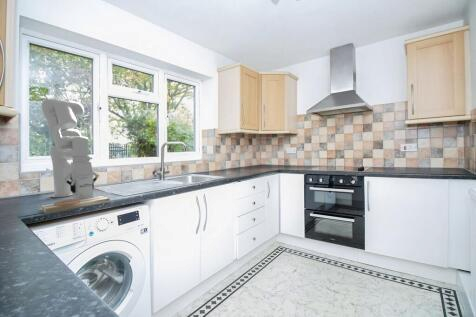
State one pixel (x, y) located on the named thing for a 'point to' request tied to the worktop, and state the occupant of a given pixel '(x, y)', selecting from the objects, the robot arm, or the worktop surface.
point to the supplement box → (83, 187)
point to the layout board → (73, 204)
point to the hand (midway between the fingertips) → (82, 191)
